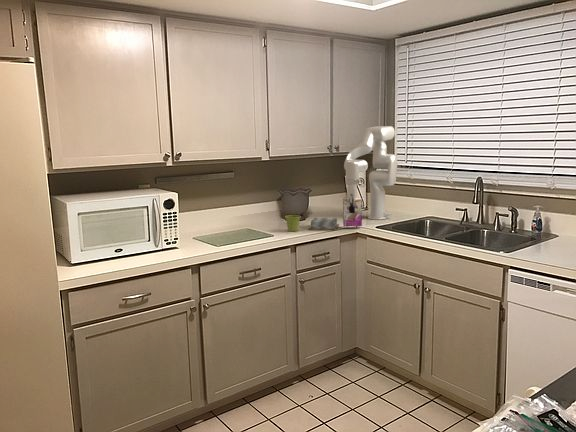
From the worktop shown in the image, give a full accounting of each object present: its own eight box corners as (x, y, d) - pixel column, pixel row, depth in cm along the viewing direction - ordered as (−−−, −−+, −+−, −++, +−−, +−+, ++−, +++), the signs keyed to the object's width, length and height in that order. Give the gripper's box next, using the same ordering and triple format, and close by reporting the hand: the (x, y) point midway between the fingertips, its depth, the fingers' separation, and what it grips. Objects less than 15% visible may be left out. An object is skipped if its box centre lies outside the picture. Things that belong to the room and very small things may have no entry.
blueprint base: (339, 225, 302) (339, 217, 302) (335, 230, 287) (335, 222, 286) (313, 224, 306) (313, 217, 305) (308, 229, 291) (308, 222, 290)
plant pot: (289, 228, 296) (289, 214, 295) (303, 229, 292) (303, 215, 290) (282, 231, 288) (282, 217, 287) (296, 232, 284) (296, 218, 282)
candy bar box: (343, 226, 291) (343, 199, 288) (343, 224, 296) (342, 198, 293) (362, 226, 290) (362, 199, 287) (361, 224, 295) (361, 197, 292)
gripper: (347, 180, 297) (347, 209, 300) (344, 183, 281) (344, 214, 284) (359, 180, 295) (360, 209, 299) (357, 183, 279) (357, 214, 282)
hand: (352, 211), depth 291 cm, fingers closed on candy bar box, 5 cm apart
